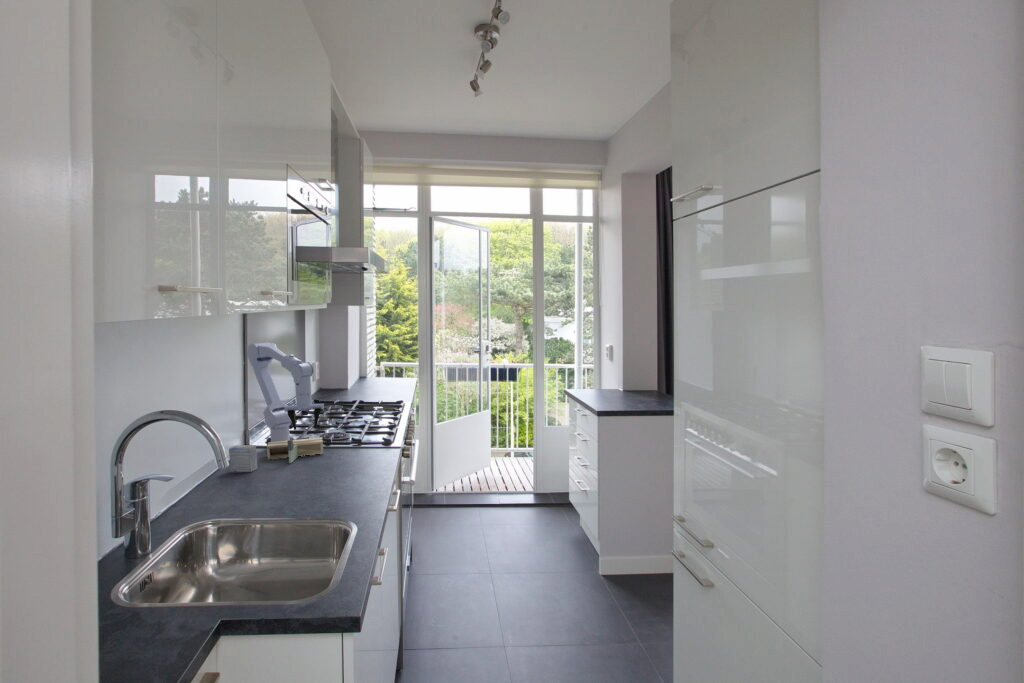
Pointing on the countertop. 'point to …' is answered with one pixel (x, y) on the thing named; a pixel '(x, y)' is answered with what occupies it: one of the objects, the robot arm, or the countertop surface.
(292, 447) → the side door
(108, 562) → the countertop surface
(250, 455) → the medicine box
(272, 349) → the robot arm
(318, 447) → the tan rectangular box
